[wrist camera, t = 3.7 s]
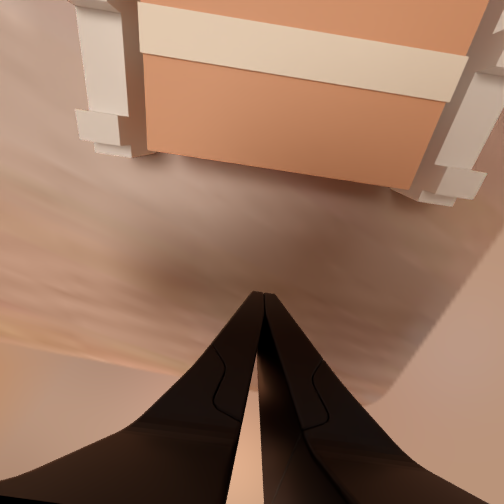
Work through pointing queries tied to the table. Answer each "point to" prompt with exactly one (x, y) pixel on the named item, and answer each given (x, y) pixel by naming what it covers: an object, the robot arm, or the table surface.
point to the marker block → (304, 81)
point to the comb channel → (422, 188)
